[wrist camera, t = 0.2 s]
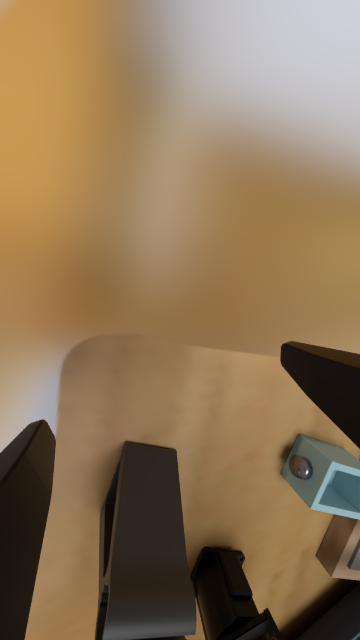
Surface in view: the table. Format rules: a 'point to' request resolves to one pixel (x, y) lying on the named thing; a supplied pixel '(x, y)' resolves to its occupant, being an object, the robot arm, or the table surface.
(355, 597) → the portable speaker
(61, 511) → the table surface
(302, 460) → the box
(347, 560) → the walnut stand
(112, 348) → the table surface
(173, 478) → the phone stand
